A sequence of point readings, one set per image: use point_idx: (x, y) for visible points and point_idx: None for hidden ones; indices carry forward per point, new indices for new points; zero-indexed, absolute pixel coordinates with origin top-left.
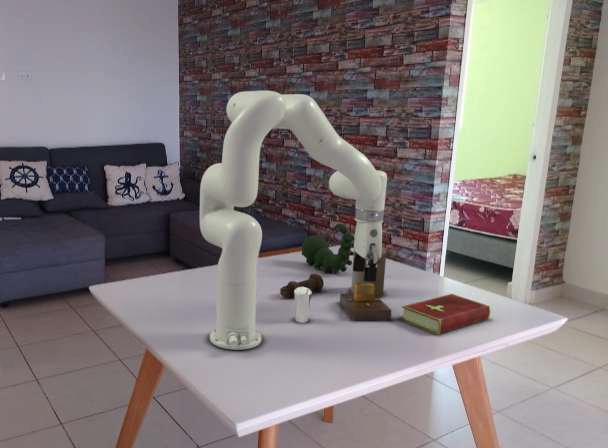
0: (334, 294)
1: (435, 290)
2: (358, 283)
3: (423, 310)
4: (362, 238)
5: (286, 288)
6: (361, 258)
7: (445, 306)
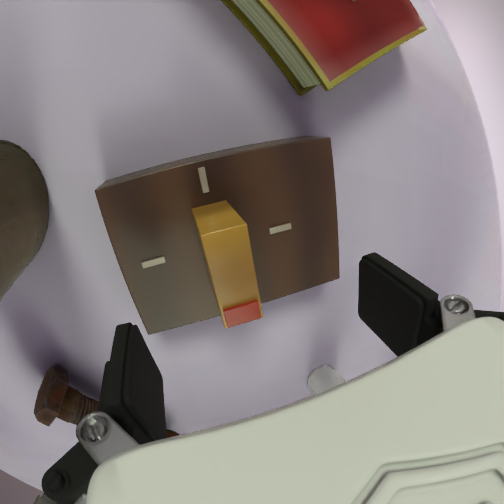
0: (61, 325)
1: None
2: (237, 314)
3: (362, 27)
4: None
5: None
6: (137, 421)
7: None
